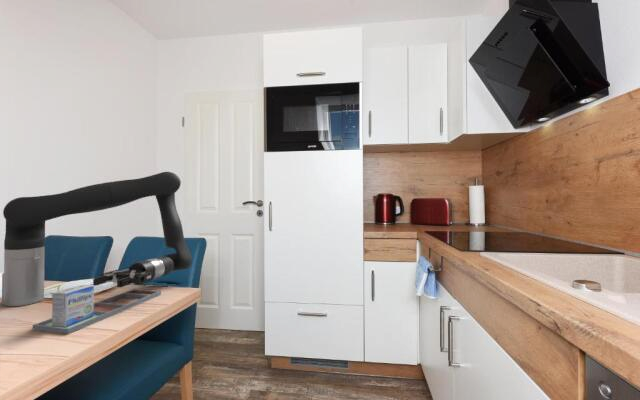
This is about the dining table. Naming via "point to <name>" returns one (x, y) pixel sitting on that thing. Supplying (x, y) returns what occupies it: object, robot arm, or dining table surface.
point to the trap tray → (102, 310)
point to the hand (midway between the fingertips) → (106, 283)
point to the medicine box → (72, 305)
